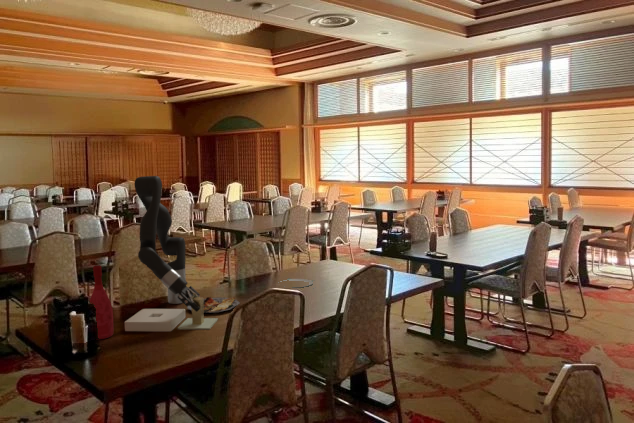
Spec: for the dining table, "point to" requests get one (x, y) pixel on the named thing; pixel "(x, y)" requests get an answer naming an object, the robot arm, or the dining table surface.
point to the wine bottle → (102, 306)
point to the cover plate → (155, 320)
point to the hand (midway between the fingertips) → (201, 307)
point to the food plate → (221, 302)
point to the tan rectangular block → (199, 315)
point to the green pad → (205, 325)
